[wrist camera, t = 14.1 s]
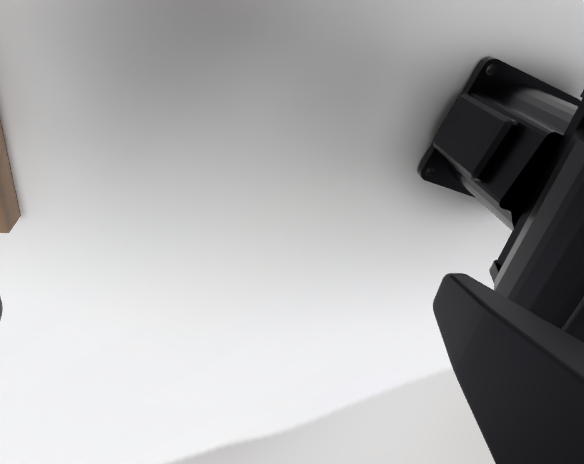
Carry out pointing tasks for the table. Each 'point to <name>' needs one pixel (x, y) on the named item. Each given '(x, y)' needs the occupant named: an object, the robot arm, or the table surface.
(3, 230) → the bookend shelf
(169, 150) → the table surface
